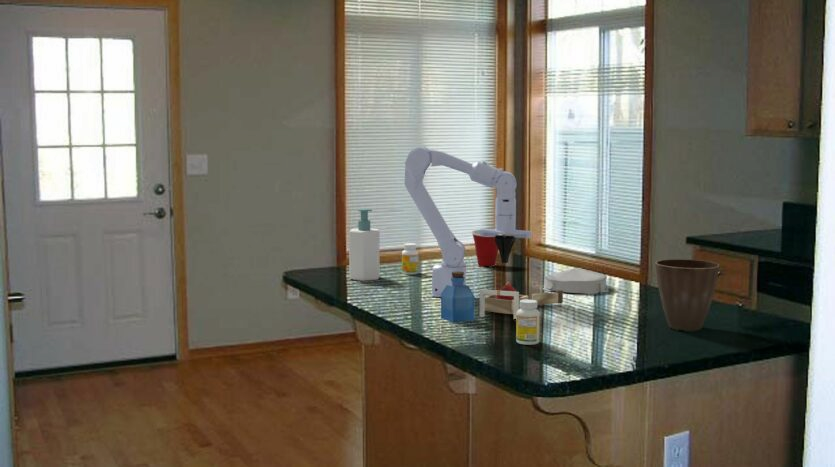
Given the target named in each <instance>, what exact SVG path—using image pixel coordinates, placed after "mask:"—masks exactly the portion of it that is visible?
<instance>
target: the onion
mask: <svg viewBox="0 0 835 467" xmlns="http://www.w3.org/2000/svg"><path fill="white" fill-rule="evenodd" d="M499 290H502V291H515V292H518V291H517V289H515V288H514V287H513V286H512V283H511V282H510V281H508V282H506V283H505V285H504V286H502V287H501V288H500V289H499ZM497 299H503V300H514V296H503V295H497Z"/></svg>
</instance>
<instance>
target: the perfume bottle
mask: <svg viewBox="0 0 835 467" xmlns="http://www.w3.org/2000/svg"><path fill="white" fill-rule="evenodd" d="M463 275H464V272H452V277H451V281H452V284H451V285H447V286H446V287H445V289H444V290H443V292H442V293H441V297H440V319H442V320H445V321H447V322H450V323H462V322H469V321H475V295H474V293H473V292H472V289H471V288H470V286H469V285H467V284H466V285H463V282H464V281H465V277H463Z"/></svg>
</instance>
